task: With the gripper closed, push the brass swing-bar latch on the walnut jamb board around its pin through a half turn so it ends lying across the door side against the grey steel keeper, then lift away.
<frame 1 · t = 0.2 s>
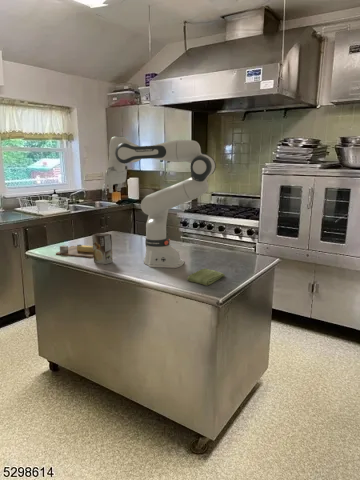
hand: (114, 191, 198), 39 cm above the countertop, tool pointing down, fingers open, 8 cm apart
jamb board: (81, 252, 220), on the countertop
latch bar: (88, 249, 216), point 3 cm above the countertop, hinge at 0.0°
washcloth: (205, 279, 177), on the countertop
coffee box: (103, 262, 202), on the countertop
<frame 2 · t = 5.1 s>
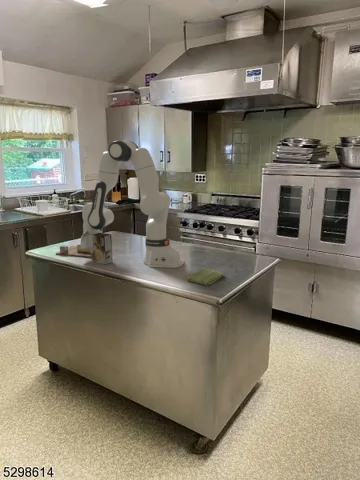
hand: (92, 252, 212), 2 cm above the countertop, tool pointing down, fingers closed
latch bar: (88, 249, 216), point 3 cm above the countertop, hinge at 0.3°, touching gripper
everything else where it was.
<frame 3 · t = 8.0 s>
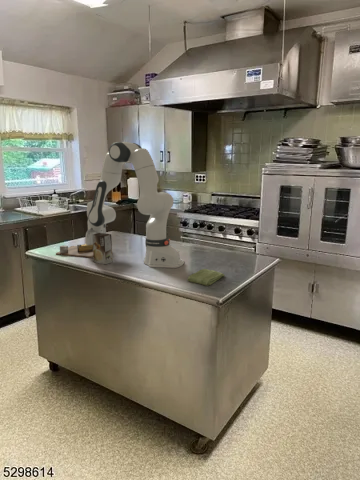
hand: (96, 248, 221), 2 cm above the countertop, tool pointing down, fingers closed
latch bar: (88, 246, 221), point 3 cm above the countertop, hinge at 50.3°, touching gripper
everything else where it was.
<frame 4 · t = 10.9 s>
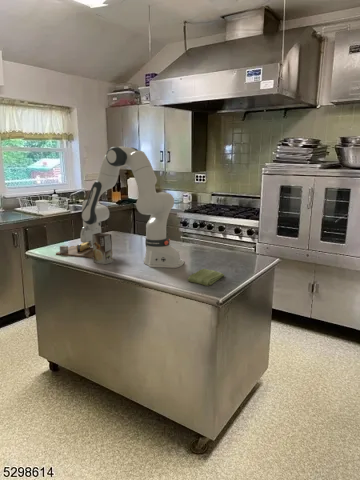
hand: (91, 246, 227), 2 cm above the countertop, tool pointing down, fingers closed, pressing on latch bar
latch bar: (84, 245, 223), point 3 cm above the countertop, hinge at 89.3°, touching gripper
everything else where it was.
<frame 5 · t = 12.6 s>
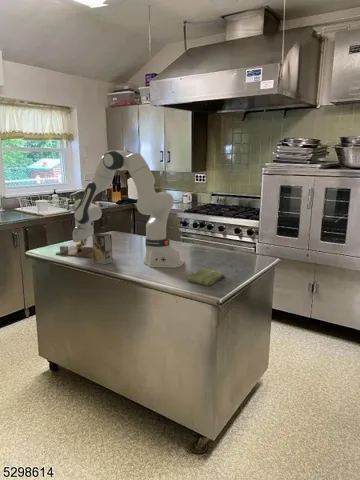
hand: (84, 245, 228), 2 cm above the countertop, tool pointing down, fingers closed
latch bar: (78, 245, 223), point 3 cm above the countertop, hinge at 124.2°, touching gripper
everything else where it was.
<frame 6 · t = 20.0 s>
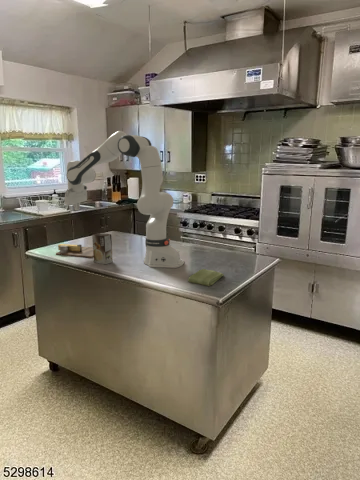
hand: (76, 210, 221), 25 cm above the countertop, tool pointing down, fingers closed
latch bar: (70, 247, 219), point 3 cm above the countertop, hinge at 184.8°
everything else where it was.
at the end: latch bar at +185° (first picture: +0°); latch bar touching nothing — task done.
